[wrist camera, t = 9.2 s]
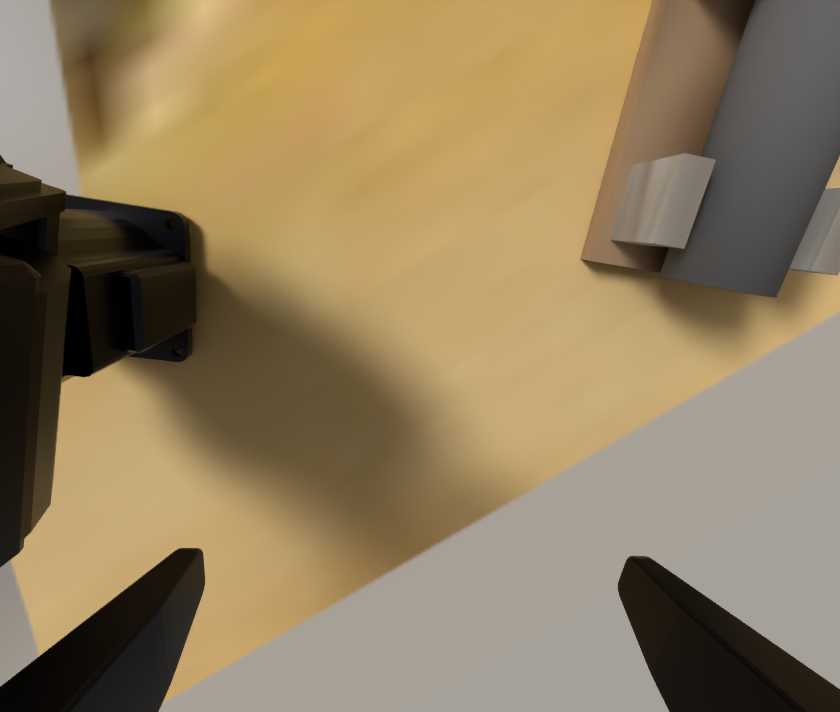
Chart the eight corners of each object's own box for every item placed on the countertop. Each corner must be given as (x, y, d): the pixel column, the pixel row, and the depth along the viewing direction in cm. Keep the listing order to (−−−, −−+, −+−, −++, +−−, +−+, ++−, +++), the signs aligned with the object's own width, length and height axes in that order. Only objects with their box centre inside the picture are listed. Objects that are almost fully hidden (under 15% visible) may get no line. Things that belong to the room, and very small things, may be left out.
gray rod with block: (722, 286, 18) (820, 305, 14) (635, 272, 18) (711, 287, 13) (950, -286, 12) (1231, -540, 8) (832, -333, 12) (1070, -629, 8)
